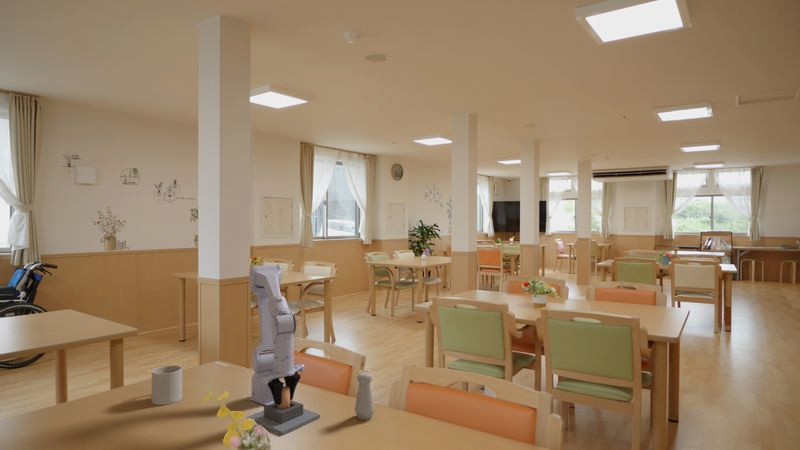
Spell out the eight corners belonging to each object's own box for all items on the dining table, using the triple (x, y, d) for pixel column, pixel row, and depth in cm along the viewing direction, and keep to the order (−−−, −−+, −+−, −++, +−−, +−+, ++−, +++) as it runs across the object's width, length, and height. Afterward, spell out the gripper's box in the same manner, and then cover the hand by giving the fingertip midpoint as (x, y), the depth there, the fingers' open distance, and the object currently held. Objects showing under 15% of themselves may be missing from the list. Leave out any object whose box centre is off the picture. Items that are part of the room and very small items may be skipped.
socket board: (246, 420, 133) (246, 406, 133) (284, 405, 144) (284, 392, 144) (282, 435, 123) (282, 420, 123) (320, 417, 135) (320, 404, 135)
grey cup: (173, 405, 144) (173, 373, 144) (144, 405, 144) (143, 373, 144) (190, 392, 155) (190, 363, 155) (162, 392, 155) (162, 363, 155)
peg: (275, 415, 133) (275, 388, 133) (284, 411, 136) (284, 385, 136) (282, 418, 131) (282, 391, 131) (292, 414, 134) (292, 387, 134)
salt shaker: (371, 422, 132) (371, 377, 132) (352, 420, 133) (352, 376, 133) (376, 414, 137) (376, 371, 137) (358, 412, 138) (358, 369, 138)
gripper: (272, 364, 126) (272, 413, 126) (311, 352, 137) (311, 396, 137) (256, 359, 130) (256, 407, 130) (295, 348, 141) (295, 391, 141)
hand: (283, 401), depth 134 cm, fingers open, 4 cm apart
